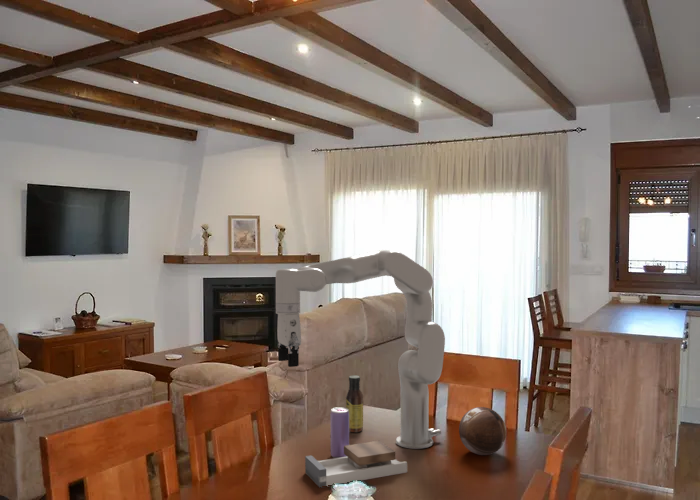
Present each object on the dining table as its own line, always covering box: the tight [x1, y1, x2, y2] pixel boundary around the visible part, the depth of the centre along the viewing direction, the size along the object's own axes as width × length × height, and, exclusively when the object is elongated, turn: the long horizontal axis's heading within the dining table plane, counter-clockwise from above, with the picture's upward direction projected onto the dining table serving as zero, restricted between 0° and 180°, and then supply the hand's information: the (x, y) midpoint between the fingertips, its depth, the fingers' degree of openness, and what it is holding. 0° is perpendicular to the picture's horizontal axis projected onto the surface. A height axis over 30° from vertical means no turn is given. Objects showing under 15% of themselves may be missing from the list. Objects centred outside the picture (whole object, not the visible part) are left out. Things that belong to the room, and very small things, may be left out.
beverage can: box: [330, 406, 350, 459], centre depth 202 cm, size 6×6×15 cm
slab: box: [344, 440, 396, 469], centre depth 189 cm, size 12×11×5 cm
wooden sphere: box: [458, 406, 507, 456], centre depth 203 cm, size 15×15×15 cm
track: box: [304, 455, 408, 488], centre depth 187 cm, size 28×12×5 cm, turn 114°
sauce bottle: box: [345, 375, 364, 433], centre depth 228 cm, size 6×6×20 cm
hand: (288, 363), depth 195 cm, fingers open, 9 cm apart
